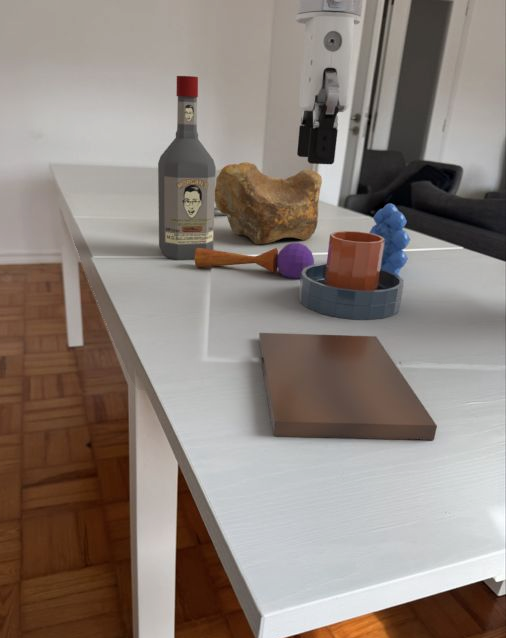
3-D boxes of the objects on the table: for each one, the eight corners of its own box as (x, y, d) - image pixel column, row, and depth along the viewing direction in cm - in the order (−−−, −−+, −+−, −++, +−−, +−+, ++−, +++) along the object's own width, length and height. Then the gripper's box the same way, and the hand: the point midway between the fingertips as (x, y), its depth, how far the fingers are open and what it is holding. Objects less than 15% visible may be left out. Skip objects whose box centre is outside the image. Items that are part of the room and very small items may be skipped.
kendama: (204, 239, 97) (317, 243, 91) (203, 273, 98) (315, 279, 92) (191, 240, 91) (311, 243, 86) (191, 276, 93) (309, 282, 87)
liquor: (157, 248, 106) (154, 75, 94) (202, 247, 109) (206, 78, 97) (167, 261, 98) (166, 73, 86) (215, 258, 101) (221, 77, 89)
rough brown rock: (217, 251, 109) (223, 174, 102) (210, 227, 124) (215, 158, 117) (330, 256, 113) (343, 181, 106) (310, 232, 127) (320, 165, 120)
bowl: (382, 292, 86) (387, 264, 84) (411, 325, 73) (417, 293, 72) (293, 289, 86) (295, 261, 84) (306, 322, 73) (309, 289, 71)
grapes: (347, 266, 100) (355, 198, 95) (381, 265, 101) (392, 199, 96) (374, 285, 90) (385, 210, 85) (412, 284, 91) (425, 211, 86)
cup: (366, 295, 83) (376, 232, 79) (379, 311, 76) (390, 243, 72) (319, 293, 83) (326, 230, 79) (328, 309, 76) (336, 241, 72)
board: (374, 347, 66) (376, 336, 65) (434, 440, 48) (437, 425, 47) (258, 344, 65) (259, 332, 65) (273, 436, 47) (274, 421, 47)
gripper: (380, -4, 57) (357, 168, 64) (345, 20, 73) (330, 155, 80) (308, -8, 57) (293, 165, 64) (289, 17, 73) (279, 153, 80)
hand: (314, 160), depth 72 cm, fingers open, 9 cm apart
